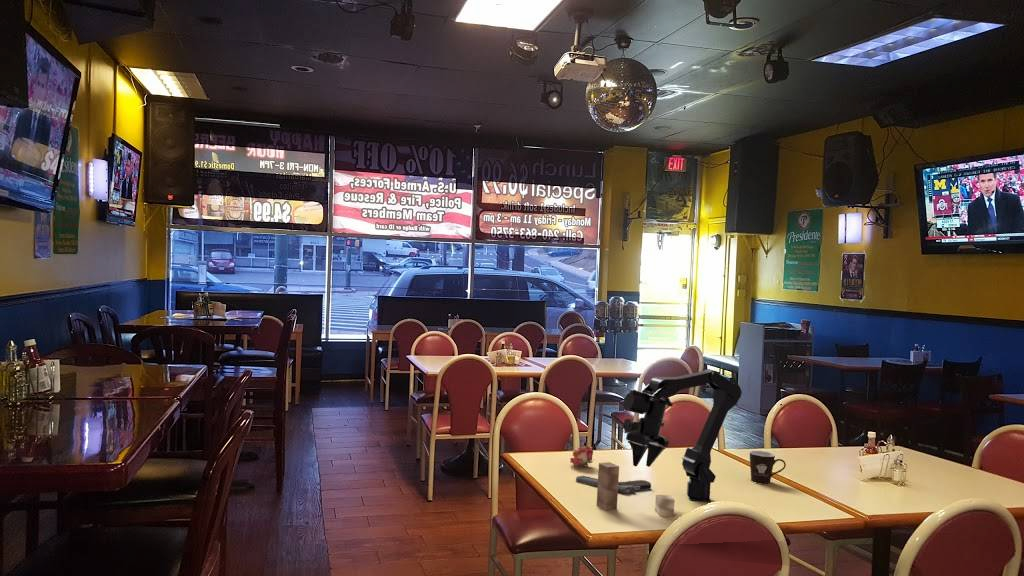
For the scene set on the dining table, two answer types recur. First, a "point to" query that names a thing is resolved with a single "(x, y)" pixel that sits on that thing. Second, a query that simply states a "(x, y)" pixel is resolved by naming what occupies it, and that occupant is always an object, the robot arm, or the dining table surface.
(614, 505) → the walnut block
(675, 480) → the dining table surface
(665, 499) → the maple block
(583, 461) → the flower
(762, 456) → the coffee mug
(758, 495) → the dining table surface
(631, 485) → the handgun
